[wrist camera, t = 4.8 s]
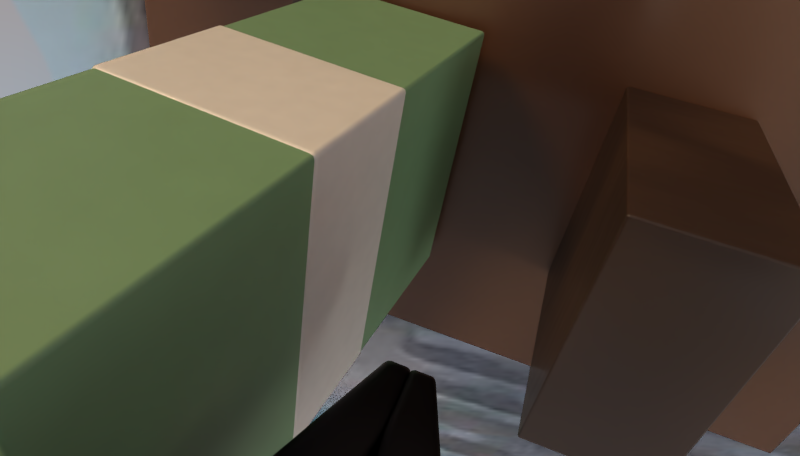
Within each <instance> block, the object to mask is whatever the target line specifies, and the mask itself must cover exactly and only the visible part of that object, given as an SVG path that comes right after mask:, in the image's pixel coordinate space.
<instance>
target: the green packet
mask: <svg viewBox="0 0 800 456" xmlns="http://www.w3.org/2000/svg"><path fill="white" fill-rule="evenodd" d="M483 38H484V32H482V31H480V30H476V29H473V28H470V27H466V26H463V25H460V24H457V23H453V22H450V21H447V20H443V19H440V18H437V17H433V16H430V15H427V14H423V13H420V12H417V11H414V10H410V9H407V8H404V7H400V6H397V5H394V4H390V3H387V2H384V1H380V0H302V1H299V2H296V3H293V4H290V5H287V6H284V7H281V8H278V9H275V10H271V11H268V12H265V13H262V14H259V15H256V16H253V17H250V18H247V19H244V20H241V21H238V22H234V23H231V24H228V25H225V26H221V25H220V26H216V27H213V28H210V29H207V30H203V31H200V32H197V33H194V34H191V35H188V36H185V37H182V38H178V39H175V40H172V41H169V42H166V43H163V44H160V45H157V46H154V47H150V48H147V49H144V50H141V51H138V52H135V53H132V54H129V55H125V56H122V57H119V58H116V59H113V60H110V61H107V62H104V63H100V64H97V65H94V66H93V67H92V69H90V70H87V71H83V72H80V73H77V74H74V75H71V76H68V77H65V78H62V79H59V80H56V81H53V82H50V83H47V84H43V85H41V86H37V87H34V88H31V89H28V90H25V91H22V92H19V93H16V94H13V95H10V96H6V97H3V98H1V99H0V456H273V455H274V454H275V453H276V452H277V451H279V450H280V449H281V448H282V447H283V446H285V445H286V444H287V443H288V442H289V441H291V440H292V439H293V438H294V437H295V436H297V435H298V434H299V433H300V432H301V431H303V430H304V429H305V428H306V427H307V426H308V425H309V424H310V422H311V421H312V420H313V418H314V417H315V416H316V414H317V413H318V411H319V410H320V409H321V407H322V406H323V405H324V403H325V402H326V400H327V399H328V398H329V396H330V395H331V393H332V392H333V391H334V389H335V388H336V387H337V385H338V384H339V382H340V381H341V380H342V378H343V377H344V375H345V374H346V373H347V371H348V370H349V369H350V367H351V366H352V364H353V363H354V362H355V360H356V359H357V358H358V356H359V355H360V352H361V350H362V348H363V347H364V346H365V344H366V343H367V342H368V340H369V339H370V337H371V336H372V335H373V333H374V332H375V331H376V329H377V328H378V326H379V325H380V324H381V322H382V321H383V320H384V318H385V317H386V315H387V314H388V313H389V311H390V310H391V309H392V307H393V306H394V304H395V303H396V302H397V300H398V299H399V298H400V296H401V295H402V293H403V292H404V291H405V289H406V288H407V287H408V285H409V284H410V282H411V281H412V280H413V278H414V277H415V276H416V274H417V273H418V271H419V270H420V269H421V267H422V266H423V265H424V263H425V262H426V260H427V259H428V258H429V256H430V252H431V248H432V244H433V240H434V236H435V232H436V228H437V224H438V220H439V216H440V212H441V208H442V204H443V200H444V196H445V192H446V188H447V184H448V180H449V176H450V172H451V168H452V164H453V159H454V155H455V151H456V147H457V143H458V139H459V135H460V131H461V127H462V123H463V119H464V115H465V111H466V107H467V103H468V99H469V95H470V91H471V87H472V83H473V79H474V75H475V71H476V67H477V63H478V59H479V55H480V50H481V46H482V42H483Z"/></svg>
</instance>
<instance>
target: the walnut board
mask: <svg viewBox="0 0 800 456" xmlns="http://www.w3.org/2000/svg"><path fill="white" fill-rule="evenodd" d="M299 1H302V0H145V6H146V15H147V25H148V34H149V43H150V47H154V46H157V45H160V44H163V43H166V42H169V41H172V40H175V39H178V38H182V37H185V36H188V35H191V34H194V33H197V32H200V31H203V30H207V29H210V28H213V27H216V26H220V25H221V26H225V25H228V24H231V23H234V22H238V21H241V20H244V19H247V18H250V17H253V16H256V15H259V14H262V13H265V12H268V11H271V10H275V9H278V8H281V7H284V6H287V5H290V4H293V3H296V2H299ZM380 1H384V2H387V3H390V4H394V5H397V6H400V7H404V8H407V9H410V10H414V11H417V12H420V13H423V14H427V15H430V16H433V17H437V18H440V19H443V20H447V21H450V22H453V23H457V24H460V25H463V26H466V27H470V28H473V29H476V30H480V31H482V32H484V38H483V42H482V46H481V50H480V55H479V59H478V63H477V67H476V71H475V75H474V79H473V83H472V87H471V91H470V95H469V99H468V103H467V107H466V111H465V115H464V119H463V123H462V127H461V131H460V135H459V139H458V143H457V147H456V151H455V155H454V159H453V164H452V168H451V172H450V176H449V180H448V184H447V188H446V192H445V196H444V200H443V204H442V208H441V212H440V216H439V220H438V224H437V228H436V232H435V236H434V240H433V244H432V248H431V252H430V256H429V258H428V259H427V260H426V262H425V263H424V265H423V266H422V267H421V269H420V270H419V271H418V273H417V274H416V276H415V277H414V278H413V280H412V281H411V282H410V284H409V285H408V287H407V288H406V289H405V291H404V292H403V293H402V295H401V296H400V298H399V299H398V300H397V302H396V303H395V304H394V306H393V307H392V309H391V310H390V311H389V313H388V314H389V315H392V316H394V317H397V318H400V319H403V320H405V321H408V322H411V323H414V324H416V325H419V326H422V327H425V328H427V329H430V330H433V331H436V332H438V333H441V334H444V335H447V336H449V337H452V338H455V339H458V340H460V341H463V342H466V343H469V344H471V345H474V346H477V347H480V348H482V349H485V350H488V351H491V352H493V353H496V354H499V355H502V356H504V357H507V358H510V359H513V360H515V361H518V362H521V363H524V364H526V365H529V366H531V367H530V372H529V377H528V383H527V388H526V393H525V399H524V404H523V409H522V415H521V420H520V425H519V431H518V437H520V438H522V439H525V440H528V441H530V442H533V443H535V444H538V445H541V446H543V447H546V448H548V449H551V450H553V451H556V452H559V453H561V454H564V455H566V456H686V455H687V454H688V453H689V451H690V450H691V449H692V448H693V447H694V446H695V444H696V443H697V442H698V441H699V440H700V438H701V437H702V436H703V435H704V434H705V432H706V431H707V430H708V431H711V432H713V433H716V434H719V435H722V436H724V437H727V438H730V439H733V440H735V441H738V442H741V443H744V444H746V445H749V446H752V447H755V448H757V449H760V450H763V451H766V452H768V453H771V452H772V451H773V450H774V449H775V448H776V447H777V446H778V445H779V444H780V443H781V442H782V441H783V440H784V439H785V438H786V437H787V436H788V435H789V434H790V433H791V432H792V431H793V430H794V429H795V428H796V427H797V426H798V425H799V424H800V0H380Z"/></svg>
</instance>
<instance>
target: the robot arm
mask: <svg viewBox="0 0 800 456" xmlns="http://www.w3.org/2000/svg"><path fill="white" fill-rule="evenodd" d="M273 456H440V442H439V427H438V411H437V395H436V382H435V379H434V378H433V377H432V376H429V375H426V374H424V373H421V372H418V371H416V370H413V371H411V372H410V370H409V368H407V367H405V366H403V365H400V364H397V363H395V362H392V361H386V362H385V363H383V364H382V365H381V366H380V367H378V368H377V369H376V370H375V371H374V372H372V373H371V374H370V375H369V376H368V377H366V378H365V379H364V380H363V381H362V382H360V383H359V384H358V385H357V386H356V387H354V388H353V389H352V390H351V391H350V392H348V393H347V394H346V395H345V396H344V397H342V398H341V399H340V400H339V401H338V402H336V403H335V404H334V405H333V406H332V407H330V408H329V409H328V410H327V411H326V412H324V413H323V414H322V415H321V416H320V417H318V418H317V419H316V420H315V421H314V422H312V423H311V424H310V425H309V426H307V427H306V428H305V429H304V430H303V431H301V432H300V433H299V434H298V435H297V436H295V437H294V438H293V439H292V440H291V441H289V442H288V443H287V444H286V445H285V446H283V447H282V448H281V449H280V450H279V451H277V452H276V453H275V454H274V455H273Z"/></svg>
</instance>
